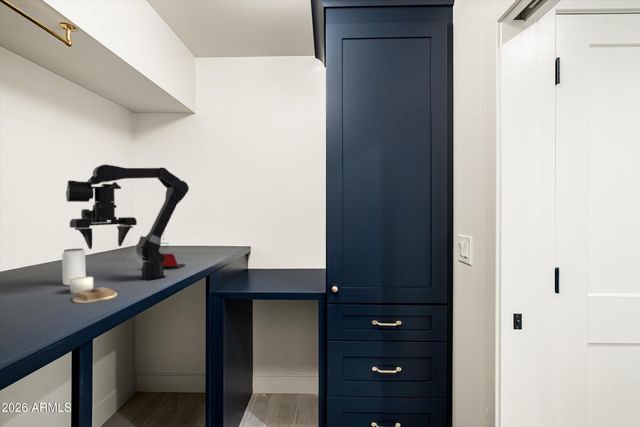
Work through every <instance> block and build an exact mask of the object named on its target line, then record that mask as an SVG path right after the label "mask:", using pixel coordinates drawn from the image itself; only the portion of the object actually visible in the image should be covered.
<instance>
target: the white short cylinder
mask: <svg viewBox="0 0 640 427" xmlns="http://www.w3.org/2000/svg"><path fill="white" fill-rule="evenodd" d="M90 289H94V277H93V276H86V277H78V278H73V279H70V285H69V294H75V295H76V292H80V291H85V290H90Z"/></svg>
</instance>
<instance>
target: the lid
mask: <svg viewBox="0 0 640 427" xmlns="http://www.w3.org/2000/svg"><path fill="white" fill-rule="evenodd" d="M115 292H116V291H115V290H114V289H111V288H108V287H104V286H101V287H96V288H93V289H90V290H85V291H80V292H76V294H75V295H76V296H75V297H77V298H80V299H83V300H86V301H90V300H94V299H99V298H104V297H108V296H113V295H115Z"/></svg>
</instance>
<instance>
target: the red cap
mask: <svg viewBox="0 0 640 427" xmlns="http://www.w3.org/2000/svg"><path fill="white" fill-rule="evenodd" d="M162 254H163V255H164V256H165V260H164V262H163V270H179V269H182V268H185V267H186V264H184V263H178V262H177V260H176V256H175V254H173V253H162Z"/></svg>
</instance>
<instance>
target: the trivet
mask: <svg viewBox="0 0 640 427" xmlns="http://www.w3.org/2000/svg"><path fill="white" fill-rule="evenodd" d="M114 292H115V295H113V296H108V297H104V298H99V299H94V300H90V301H86V300H83V299H80V298H77V297H76V296H74V297H73V298H72V302H73V303H76V304H87V303H97V302H98V303H99V302H104V301H107V300H111V299H113V298H116V297H117V296H118V292H116V291H114Z"/></svg>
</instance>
